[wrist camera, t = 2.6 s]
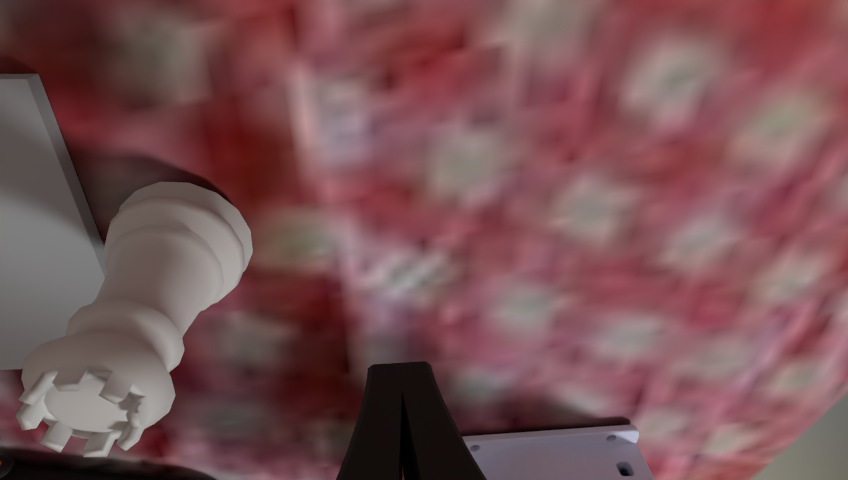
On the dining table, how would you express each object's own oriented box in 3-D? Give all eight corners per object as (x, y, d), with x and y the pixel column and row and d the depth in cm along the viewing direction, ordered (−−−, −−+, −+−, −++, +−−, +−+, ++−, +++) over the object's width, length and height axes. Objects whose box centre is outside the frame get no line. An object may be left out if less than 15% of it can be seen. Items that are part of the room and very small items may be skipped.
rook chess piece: (121, 271, 18) (-22, 474, 12) (119, 161, 16) (-59, 330, 9) (248, 292, 19) (184, 489, 13) (263, 190, 17) (195, 362, 10)
